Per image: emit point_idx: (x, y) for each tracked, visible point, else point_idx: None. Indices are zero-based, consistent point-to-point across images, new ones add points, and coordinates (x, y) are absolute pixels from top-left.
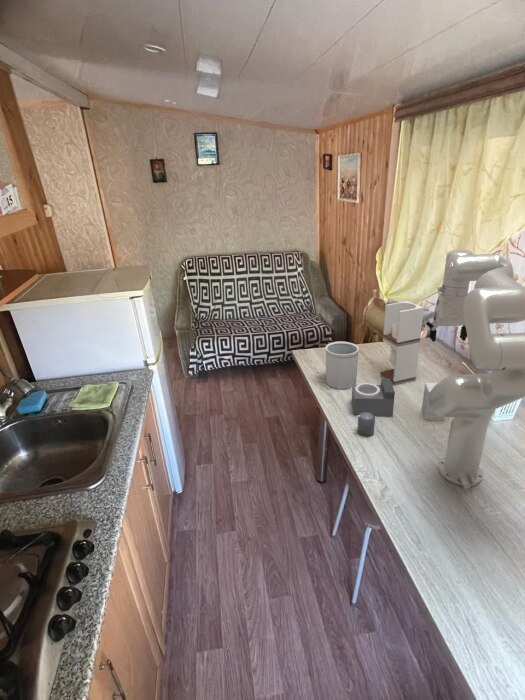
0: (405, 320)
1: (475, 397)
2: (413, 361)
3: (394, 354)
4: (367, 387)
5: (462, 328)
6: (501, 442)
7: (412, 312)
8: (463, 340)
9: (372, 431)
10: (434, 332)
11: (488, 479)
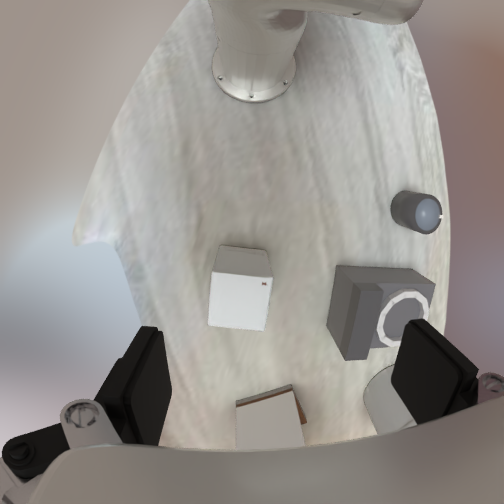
0: None
1: None
2: (247, 435)
3: None
4: (393, 334)
5: (146, 442)
6: (127, 162)
7: None
8: (158, 332)
9: (401, 195)
10: (469, 360)
11: (206, 50)
